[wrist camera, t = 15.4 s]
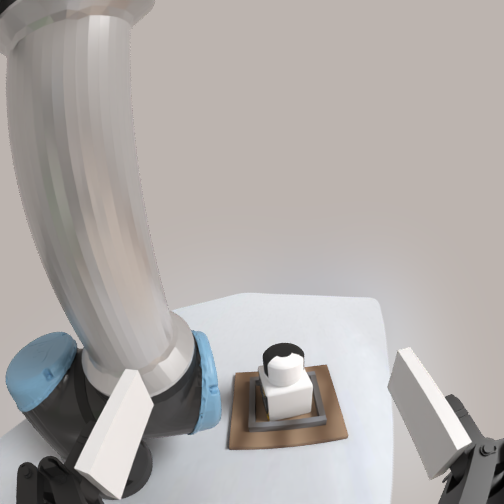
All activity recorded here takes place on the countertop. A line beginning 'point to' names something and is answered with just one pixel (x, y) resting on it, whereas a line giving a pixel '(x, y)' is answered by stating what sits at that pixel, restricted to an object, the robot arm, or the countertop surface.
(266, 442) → the dock
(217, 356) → the countertop surface
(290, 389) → the medicine bottle
